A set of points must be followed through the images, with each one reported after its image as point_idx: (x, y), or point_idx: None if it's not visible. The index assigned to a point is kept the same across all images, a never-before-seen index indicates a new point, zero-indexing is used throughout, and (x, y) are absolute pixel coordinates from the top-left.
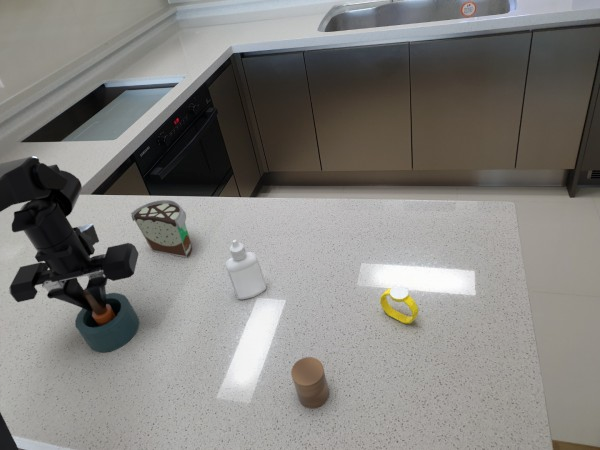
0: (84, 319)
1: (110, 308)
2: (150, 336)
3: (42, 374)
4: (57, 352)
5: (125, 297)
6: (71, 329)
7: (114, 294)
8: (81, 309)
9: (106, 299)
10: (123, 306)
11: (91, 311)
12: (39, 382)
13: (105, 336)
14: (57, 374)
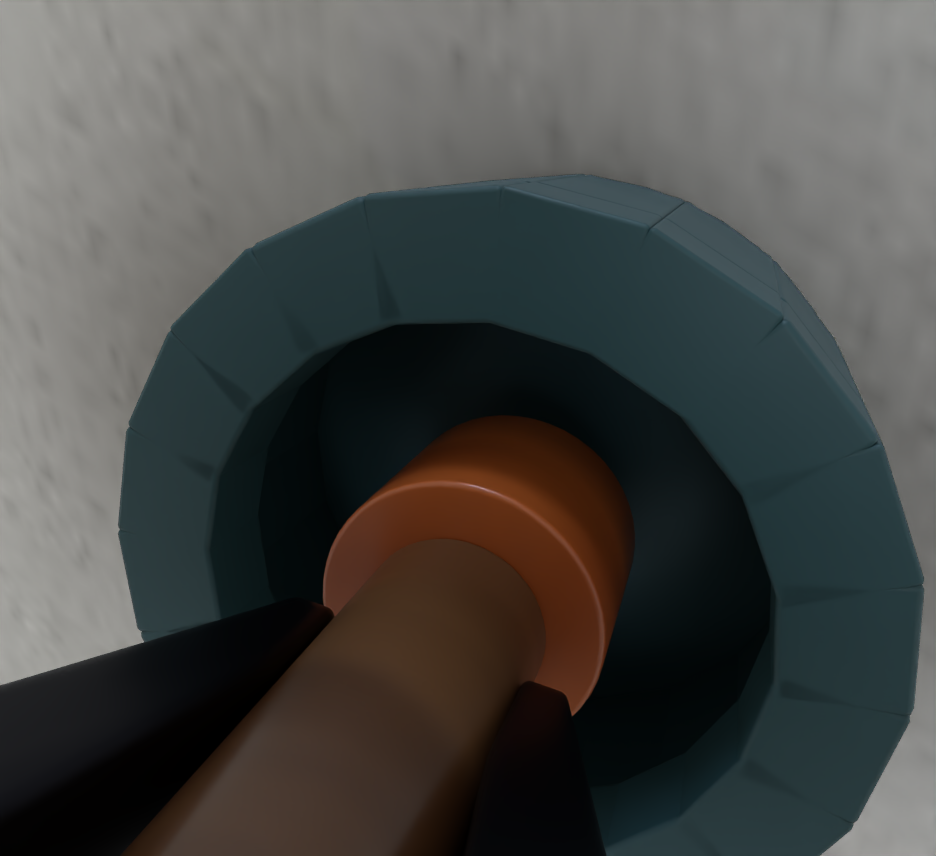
0: (231, 527)
1: (600, 664)
2: (932, 764)
3: (11, 571)
4: (65, 411)
5: (893, 522)
6: (127, 172)
7: (691, 300)
8: (160, 357)
9: (578, 751)
10: (814, 710)
11: (306, 376)
12: (10, 629)
13: None
14: (116, 640)
